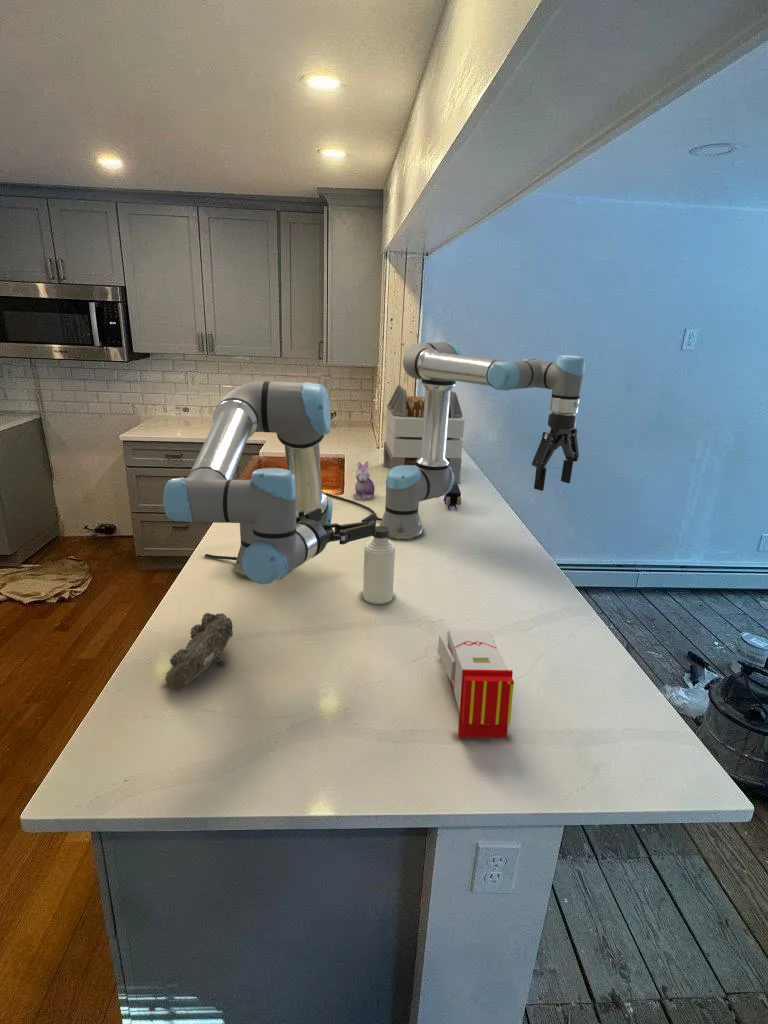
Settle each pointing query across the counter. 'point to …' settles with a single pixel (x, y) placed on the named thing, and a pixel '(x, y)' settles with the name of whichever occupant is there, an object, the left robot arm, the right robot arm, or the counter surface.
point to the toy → (478, 682)
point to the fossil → (200, 649)
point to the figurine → (363, 483)
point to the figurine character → (453, 497)
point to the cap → (381, 532)
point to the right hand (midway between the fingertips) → (552, 485)
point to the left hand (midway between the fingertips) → (346, 516)
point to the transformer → (419, 431)
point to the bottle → (378, 571)
